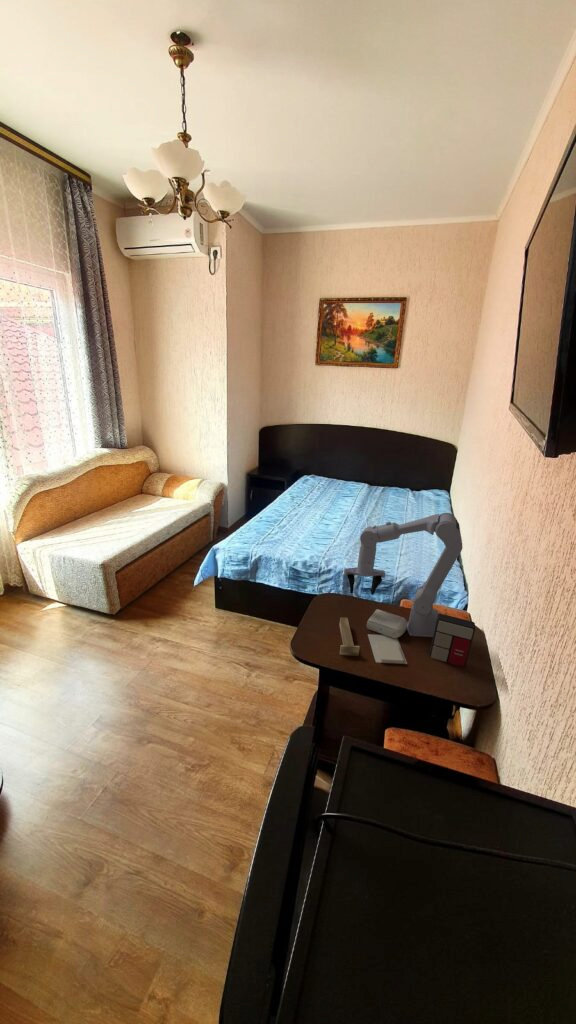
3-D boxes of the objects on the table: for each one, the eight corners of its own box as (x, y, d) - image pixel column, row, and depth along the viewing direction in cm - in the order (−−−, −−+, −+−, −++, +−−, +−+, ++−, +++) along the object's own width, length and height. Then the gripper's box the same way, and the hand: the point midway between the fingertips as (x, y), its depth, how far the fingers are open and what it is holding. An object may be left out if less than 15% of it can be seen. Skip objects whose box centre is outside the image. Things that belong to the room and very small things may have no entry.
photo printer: (365, 630, 143) (400, 642, 137) (367, 619, 142) (402, 631, 136) (375, 617, 152) (408, 627, 146) (376, 607, 150) (410, 617, 144)
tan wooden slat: (351, 627, 145) (352, 617, 143) (358, 657, 130) (359, 647, 128) (334, 626, 144) (335, 617, 143) (339, 656, 130) (340, 646, 128)
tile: (396, 641, 135) (403, 660, 127) (395, 645, 136) (402, 664, 127) (375, 640, 135) (381, 659, 126) (374, 644, 135) (380, 663, 127)
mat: (395, 637, 141) (396, 635, 141) (407, 665, 128) (407, 663, 127) (367, 635, 141) (367, 634, 140) (375, 663, 127) (375, 662, 127)
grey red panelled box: (428, 659, 131) (437, 619, 126) (429, 651, 135) (438, 612, 130) (465, 669, 128) (475, 629, 122) (464, 661, 131) (475, 622, 126)
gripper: (384, 555, 148) (379, 588, 153) (344, 553, 148) (340, 586, 153) (388, 564, 142) (383, 598, 146) (347, 562, 141) (343, 596, 146)
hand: (361, 592), depth 149 cm, fingers open, 7 cm apart
